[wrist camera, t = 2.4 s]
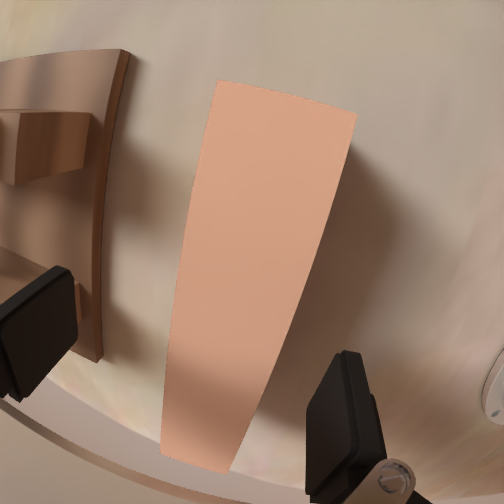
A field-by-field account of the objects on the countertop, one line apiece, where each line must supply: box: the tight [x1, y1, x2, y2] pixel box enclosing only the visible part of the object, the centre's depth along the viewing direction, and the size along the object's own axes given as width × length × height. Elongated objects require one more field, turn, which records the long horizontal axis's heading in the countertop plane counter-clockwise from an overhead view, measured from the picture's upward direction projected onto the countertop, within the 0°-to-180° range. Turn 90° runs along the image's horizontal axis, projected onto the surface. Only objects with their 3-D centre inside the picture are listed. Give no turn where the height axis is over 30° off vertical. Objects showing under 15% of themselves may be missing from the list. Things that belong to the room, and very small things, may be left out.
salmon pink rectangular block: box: [160, 80, 358, 475], centre depth 13 cm, size 4×16×7 cm, turn 166°
